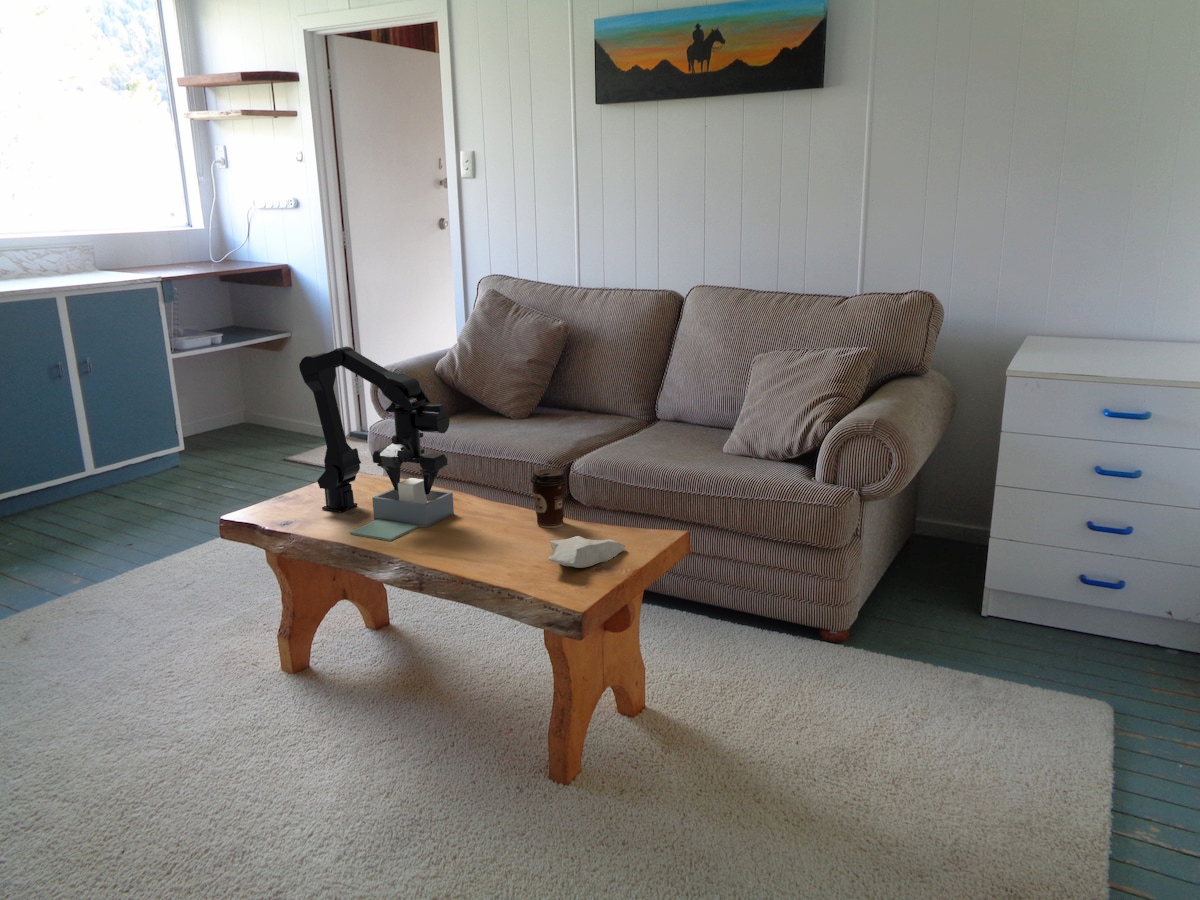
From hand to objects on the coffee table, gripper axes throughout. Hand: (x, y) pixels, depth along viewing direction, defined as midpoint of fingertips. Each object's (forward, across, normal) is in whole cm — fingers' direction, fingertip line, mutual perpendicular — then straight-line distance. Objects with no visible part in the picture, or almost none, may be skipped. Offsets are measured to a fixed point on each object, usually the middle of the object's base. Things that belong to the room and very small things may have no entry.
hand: (412, 492), depth 225 cm
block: (+3, 0, 0) cm, 3 cm away
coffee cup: (+6, +34, +8) cm, 36 cm away
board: (+6, 0, -12) cm, 13 cm away
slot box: (+6, 0, 0) cm, 6 cm away
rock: (+7, +50, -9) cm, 52 cm away
